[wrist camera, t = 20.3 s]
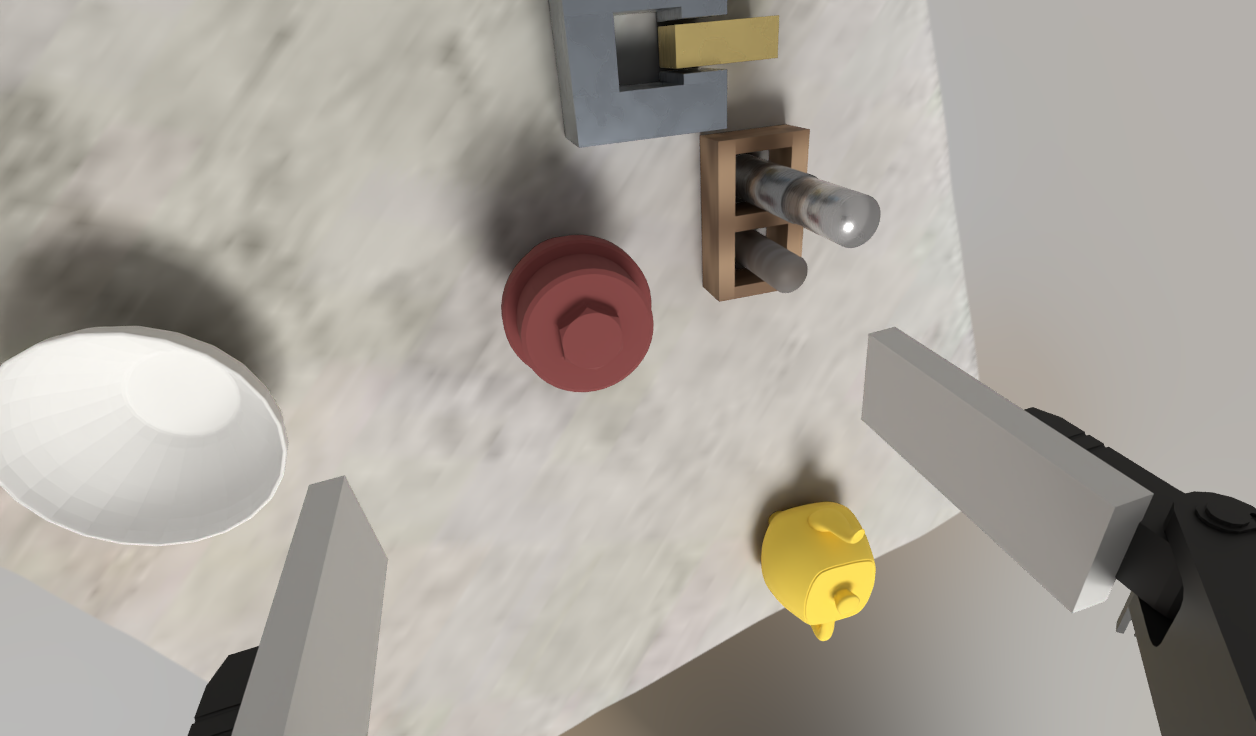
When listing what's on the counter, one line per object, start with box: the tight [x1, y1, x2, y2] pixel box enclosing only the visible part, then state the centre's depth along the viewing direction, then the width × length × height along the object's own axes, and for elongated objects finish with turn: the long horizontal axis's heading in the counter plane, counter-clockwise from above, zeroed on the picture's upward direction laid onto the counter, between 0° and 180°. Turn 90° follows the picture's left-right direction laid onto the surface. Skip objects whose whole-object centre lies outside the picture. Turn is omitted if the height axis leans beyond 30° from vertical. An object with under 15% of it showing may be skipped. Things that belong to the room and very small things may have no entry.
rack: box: [700, 124, 810, 302], centre depth 44 cm, size 12×7×8 cm, turn 4°
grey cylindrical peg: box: [735, 154, 880, 248], centre depth 39 cm, size 3×3×15 cm
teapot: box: [761, 502, 876, 641], centre depth 62 cm, size 18×11×11 cm, turn 0°
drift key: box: [658, 15, 779, 69], centre depth 39 cm, size 2×7×4 cm, turn 94°
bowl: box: [0, 326, 288, 546], centre depth 39 cm, size 16×16×7 cm
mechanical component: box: [501, 235, 653, 392], centre depth 40 cm, size 12×10×10 cm
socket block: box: [548, 0, 727, 148], centre depth 37 cm, size 10×10×5 cm
